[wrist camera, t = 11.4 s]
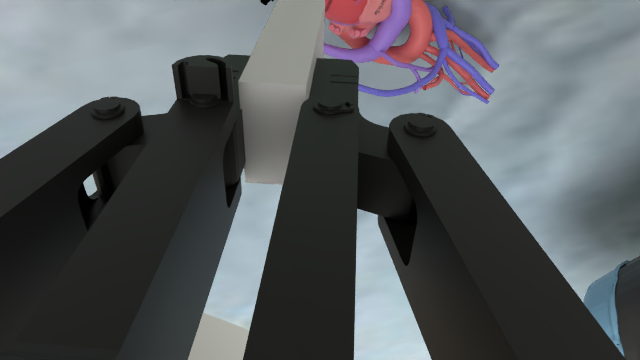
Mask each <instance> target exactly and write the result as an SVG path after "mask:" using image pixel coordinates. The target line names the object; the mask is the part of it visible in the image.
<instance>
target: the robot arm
mask: <svg viewBox="0 0 640 360" xmlns="http://www.w3.org/2000/svg"><path fill="white" fill-rule="evenodd" d="M324 21H325V0H278V1H277V3H276V5H275V7H274V9H273V11H272V13H271V15H270V17H269V19H268V21H267V23H266V26H265V28H264V30H263V32H262V34H261V36H260V38H259V40H258V42H257V44H256V46H255V48H254V50H253V52H252V54H251V56H246V55H227V56H225V57H224V58H222V57H218V56H211V55H198V56H192V57H186V58H184V59H181V60H178V61H176V62H175V63H174V64H172V69H173V76H174V82H175V89H176V95H177V100H176V101H175V103H174V104H173V106H172V107H171V109H170V110H169V112H168V113H165V114H157V115H147V116H141V111H140V106H139V104H138V103H137V102H135V101H134V100H131V99H128V98H118V97H110V98H109V97H104V98H101V99H100V100H96V101H92V102H90V103H88V104H86V105H84V106H82V107H80V108H79V109H77V110H76V111H74V112H73V113H71V114H70V115H68V116H66V117H65V118H63V119H62V120H60V121H59V122H57V123H56V124H54V125H52V126H51V127H49V128H48V129H46V130H45V131H43V132H42V133H40V134H38V135H37V136H35V137H34V138H32V139H31V140H29V141H28V142H26V143H24V144H23V145H21V146H20V147H18V148H17V149H15V150H14V151H12V152H10V153H9V154H7V155H6V156H4V157H3V158H1V159H0V360H188V356H189V353H190V350H191V347H192V344H193V341H194V338H195V335H196V332H197V329H198V326H199V323H200V319H201V317H202V314H203V311H204V308H205V304H206V301H207V298H208V295H209V292H210V289H211V286H212V283H213V280H214V277H215V274H216V271H217V268H218V265H219V261H220V258H221V255H222V252H223V249H224V246H225V243H226V240H227V237H228V234H229V231H230V228H231V225H232V222H233V218H234V215H235V212H236V209H237V206H238V203H239V200H240V197H241V177H240V176H241V173H242V171H243V168H244V169H245V182H248V183H263V184H279V185H283V187H282V191H281V196H280V200H279V204H278V209H277V213H276V217H275V222H274V226H273V231H272V235H271V239H270V244H269V248H268V252H267V257H266V261H265V266H264V270H263V274H262V279H261V283H260V287H259V292H258V296H257V300H256V305H255V309H254V314H253V318H252V322H251V327H250V331H249V336H248V340H247V344H246V349H245V353H244V357H243V360H354V321H355V276H356V231H357V209H361V210H364V211H367V212H371V213H374V214H377V215H378V225H379V228H380V230H381V233H382V235H383V238H384V240H385V243H386V245H387V248H388V250H389V253H390V255H391V258H392V260H393V263H394V265H395V268H396V271H397V273H398V276H399V278H400V281H401V283H402V286H403V288H404V291H405V293H406V296H407V298H408V301H409V303H410V306H411V308H412V311H413V313H414V316H415V318H416V321H417V324H418V326H419V329H420V331H421V334H422V336H423V339H424V341H425V344H426V346H427V349H428V351H429V354H430V356H431V359H432V360H640V256H639V257H637V258H635V259H633V260H631V261H625V262H622V263H621V264H619V265H618V266H617V267H616V269H615V270H613V271H611V272H610V273H608V274H606V275H605V276H603V277H601V278H599V279H598V280H596V281H595V282H593V283H592V284H591V285H590V286H589V287H588V290H587V293H586V295H585V297H584V303H583V302H582V301H581V299H580V298H579V297H578V295H577V294H576V293H575V291H574V290H573V289H572V287H571V286H570V285H569V283H568V282H567V281H566V279H565V278H564V277H563V275H562V274H561V273H560V271H559V270H558V269H557V267H556V266H555V265H554V263H553V262H552V261H551V259H550V258H549V257H548V256H547V254H546V253H545V252H544V250H543V249H542V248H541V246H540V245H539V244H538V242H537V241H536V240H535V238H534V237H533V236H532V234H531V233H530V232H529V230H528V229H527V228H526V226H525V225H524V224H523V222H522V221H521V220H520V218H519V217H518V216H517V214H516V213H515V212H514V211H513V209H512V208H511V207H510V205H509V204H508V203H507V201H506V200H505V199H504V197H503V196H502V195H501V193H500V192H499V191H498V189H497V188H496V187H495V185H494V184H493V183H492V181H491V180H490V179H489V177H488V176H487V175H486V173H485V172H484V171H483V169H482V168H481V167H480V165H479V164H478V163H477V162H476V160H475V159H474V158H473V156H472V155H471V154H470V152H469V151H468V150H467V148H466V147H465V146H464V144H463V143H462V142H461V140H460V139H459V138H458V136H457V135H456V134H455V132H454V131H453V130H452V128H451V127H450V126H449V125H448V124H447V123H445V122H444V121H443V120H441V119H439V118H436V117H434V116H432V115H429V114H427V115H426V114H424V113H418V114H414V113H410V114H404V115H400V116H398V117H396V118H394V119H393V120H392V121H391V123H390V125H389V128H388V127H384V126H380V125H377V124H374V123H372V122H370V121H368V120H366V119H365V118H363V117H362V116H361V115H360V113H359V108H358V80H359V78H358V77H359V67H358V66H357V65H356V64H355V63H354V62H353V61H352V60H343V59H325V58H323V50H324ZM91 174H93V177H94V181H95V184H96V187H97V191H96V192H95V193H93V194H92V195H91V196H89V197H88V195H87V194H86V191H85V188H84V184H83V182H84V181H85V180H86V178H88V177H89V176H90V175H91Z"/></svg>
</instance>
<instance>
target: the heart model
mask: <svg viewBox="0 0 640 360" xmlns="http://www.w3.org/2000/svg"><path fill="white" fill-rule="evenodd" d="M269 1H270V0H261V3H263V4H264V5H267V3H269ZM272 1H273V0H272ZM443 12H444V13H445V15H446V17H447V19H448V20H446V19H444V18H443V17H441V15H440V13H439V11H438V10H437V9H436V8H435V7H434V6H432V5H430V4H428V3H426V2H424V1H423V0H325V17H326V18H327V19H329V20H330V22H331V24H330V25H329V29H330V30H331V31H332V32H333V33H335V34H337V35H338V36H339V37H340V38H341V39H343V40H344V41H345V42H346V43H347V44H348V45H349V46H350V47H351V48H353V49H345V48H339V47H335V46H331V45H328V44H325V43H324V50H323V53H326V54H328V55H330V56H332V57H335V58H338V59H343V60H352V61H353V62H357V63H363V62H370V61H374V62H377V63H381V64H387V65H395V66H398V67H402V68H409V69H410V70H411V71H412V72H413V73H414V74H415V76H416V79H417V82H415V83H414V84H412V85H410V86H407V87H404V88H400V89H395V90H379V89H374V88H370V87H366V86H363V85H360V84H358V90H359V91H363V92H366V93H369V94H373V95H377V96H384V97H390V96H397V95H402V94H406V93H409V92H412V91H414V90H415V92H414V93H415V94H416V93H417V92H418V90H419V89H420V88H421V89H422V88H423V90H426V89H428V88H432V87H435V86H437V85H438V84H440V82H441V81H442V79H443V78H444V79H445V80H447V81H448V82H449V83H450V84H451V85H452V86H453V87H454V88H455V89H456V90H458V91H459V92H460V93H461V94H463V93H464V94H463V95H468V96H474V97H476V98H478V99H479V100H481V101H483V102H484V103H486V104H487V103H488V102H489V101H488V99H489V97H490V95H491V94H492V93H493V92H494V90H495V89H494V88H492V87H491V86H490V85H489V84H488V83H487V81H486V80H485V79H484V78H483V77H482V76H481V75H480V73H479V72H478V71H477V70H476V69H475V68H474V67H473V66H471V65H470V64H469V63H468V62H467V61H466V60H464V59H463V56H462V52H461V49H462V50H464V51H465V52H466V53H467V54H468V55H470V56H471V57H472V58H473V59H474V60H475V61H476V62H477V63H479V64H480V65H481V66H482V67H484V68H485V69H486V70H488V71H490V72H491V73H492V72H493V71H494V70H496V69H497V68H498V67H499V64H498V63H497V62H495V61H494V60H493V58H492V57H491V56H490V54H489V52H488V51H487V49H486V48H485V46H484V45H483V44H482V43H481V42H480V41H479V40H477V39H476V38H475V37H473V36H471V35H469V34H467V33H466V32H464V31H462V30H461V29H459V28H458V27H456V26H455V25H454V24H455V21H454V18H453V16H452V14H451V12H450V11H449V9H448V7H444V8H443ZM378 23H379V26H378V28H377V30H376V32H375V34H374V36H373V37H372V39H371V40H370V39H368V38H367V37H366V35H367V34H368V33H369V32H370V31H371V30H373V29H374V28H375V27H376V26H377V24H378ZM407 23H409V25H410V36H409V38H408V40H407V42H406V43H405V44H403V45H401V46H391V45H392V44H393V42H394V41H395V39H396V38H397V37H398V35H399V34H400V32H401V31H402V30H403V28H404V27H405V26H406V25H407ZM430 41H437V43H438V46H439V48H440V50H439V49H437V48H435V47H432V46H430V45H429V43H430ZM449 41H450V43H451V46H452V49H453V50H452V49H451V48H450V47H449V43H448V42H449ZM452 41H453V42H454V43H455V44H457V45H458V46H459V50H460V53H461V56H462V57H461V56H459V55H458V54H457V53H456V51H455V48H454V45H453V42H452ZM465 41H466V42H467V43H468V44H469V45H470V46H469V45H468V44H467V43H466V42H465ZM460 48H461V49H460ZM477 49H478V50H479V51H480V52H481V53H480V52H479V51H478V50H477ZM425 51H426V52H429V53H431V54H433V55H435V56H437V57H438V58H437V61H435V60H433V59H432V58H431V57H429V56H428V55H426V54H424V52H425ZM419 57H420V58H422V59H423V60H425V61H427V62H428V63H430V64H431V65H433V66H432V67H430V68H424V67H419V66H416V65H412V64H408V63H411V62H413V61H415V60H417V59H418V58H419ZM442 63H443V65H444V67H445V69H446V71H447V73H448V75H449V76H450V78H451V79H450V78H449V77H448V76H447V75H446V74H444V72H443V69H442V67H441V65H442ZM448 64H449V65H450V66H451V67H452V68H453V69H454V70H455V71H456V72H457V73H458V74H459V75H460V76H461V77H462V78H463V79H464V80H465V81H466V82H467V83H460V82H459V81H458V80H457V79H456V78H455V77H454V75H453V74H452V72H451V71H450V69H449V66H448ZM416 70H420V71H426V72H430V73H429V74H428V75H427V76H426V77H424V78H422V79H421V78H420V76H419V74H418V72H417V71H416ZM437 74H438V75H439V76H437V77H436V78H435V79H433V78H434V77H435V76H436V75H437ZM471 76H472V77H473V78H474V79H475V80H476V81H477V82H478V83H479V84H480V85H481V87H482V88H483V89H484V90H485V91H487V92H488V93H489V94H490V95H489V94H487V93H486V92H485V91H484V90H483V89H482V88H481V87H480V86H479V85H478V84H477V83H476V81H475V80H474V79H473V78H472V77H471ZM446 77H447V78H446ZM432 79H433V80H432ZM436 79H437V80H436ZM431 80H432V81H431ZM435 80H436V81H435ZM450 80H451V81H450ZM429 81H431V82H430V83H429V84H427V85H424V84H426V83H428V82H429ZM433 81H435V82H433ZM452 81H453V82H455V83H456V85H457V87H456V86H455V84H454V83H453V82H452ZM432 82H433V83H432ZM462 84H469V85H470V86H471V88H472V89H473V90H474V91H475V92H476V93H477V94H476V93H475V92H473V91H471V90H469V89H468V88H466V87H465V86H463V85H462ZM423 85H424V86H423ZM458 86H459V87H460V88H461V89H463V90H464V91H462V90H460V89H459V87H458ZM465 91H466V92H465Z"/></svg>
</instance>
